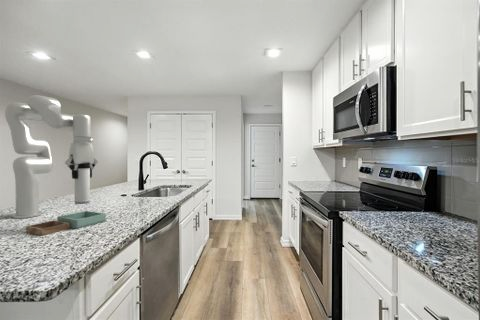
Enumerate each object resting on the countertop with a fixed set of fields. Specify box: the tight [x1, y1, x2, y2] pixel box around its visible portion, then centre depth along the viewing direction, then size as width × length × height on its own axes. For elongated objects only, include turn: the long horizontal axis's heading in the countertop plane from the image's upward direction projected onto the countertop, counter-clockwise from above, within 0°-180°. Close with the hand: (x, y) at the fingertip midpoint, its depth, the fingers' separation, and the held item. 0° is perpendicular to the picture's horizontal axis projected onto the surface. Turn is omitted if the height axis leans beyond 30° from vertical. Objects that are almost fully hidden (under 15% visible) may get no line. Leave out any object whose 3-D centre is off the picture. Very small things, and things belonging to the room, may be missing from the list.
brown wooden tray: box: [25, 219, 70, 236], centre depth 114 cm, size 11×11×2 cm
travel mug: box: [74, 162, 91, 205], centre depth 126 cm, size 6×7×20 cm
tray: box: [56, 210, 107, 230], centre depth 126 cm, size 14×14×4 cm
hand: (82, 177), depth 125 cm, fingers closed on travel mug, 6 cm apart
